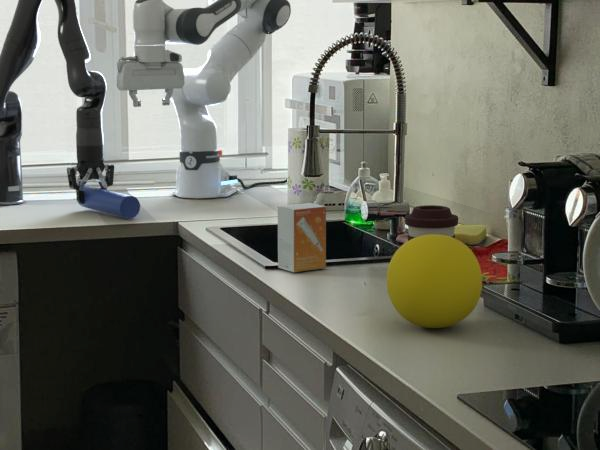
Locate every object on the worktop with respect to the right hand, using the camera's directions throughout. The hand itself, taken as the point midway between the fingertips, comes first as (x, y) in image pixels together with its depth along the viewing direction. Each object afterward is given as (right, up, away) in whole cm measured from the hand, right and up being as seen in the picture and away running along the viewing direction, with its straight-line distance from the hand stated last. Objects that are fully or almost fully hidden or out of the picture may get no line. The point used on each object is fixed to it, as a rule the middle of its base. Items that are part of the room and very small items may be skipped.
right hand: (151, 106), depth 292 cm
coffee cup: (+66, -45, -94) cm, 124 cm away
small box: (+42, -42, -77) cm, 98 cm away
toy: (+63, -50, -123) cm, 147 cm away
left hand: (-17, -27, +3) cm, 32 cm away
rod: (-12, -30, -3) cm, 32 cm away
